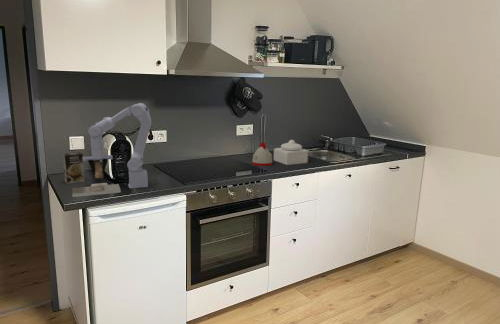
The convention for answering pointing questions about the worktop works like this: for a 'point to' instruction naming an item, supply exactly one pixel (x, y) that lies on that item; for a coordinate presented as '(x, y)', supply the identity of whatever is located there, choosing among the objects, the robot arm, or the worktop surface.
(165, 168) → the worktop surface
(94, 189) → the hole plate
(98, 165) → the peg
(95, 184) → the pad
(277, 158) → the grey lidded box
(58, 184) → the worktop surface
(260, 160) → the grey bobble hat
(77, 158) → the coffee box
